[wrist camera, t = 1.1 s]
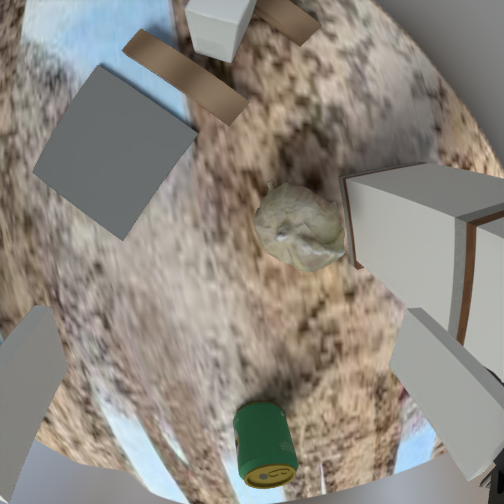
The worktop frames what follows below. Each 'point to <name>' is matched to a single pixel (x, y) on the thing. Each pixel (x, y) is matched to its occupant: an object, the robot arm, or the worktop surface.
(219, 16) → the skincare box
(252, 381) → the worktop surface
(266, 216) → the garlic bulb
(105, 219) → the charcoal mat
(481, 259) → the white tall block
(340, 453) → the worktop surface
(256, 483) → the beverage can
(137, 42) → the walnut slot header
